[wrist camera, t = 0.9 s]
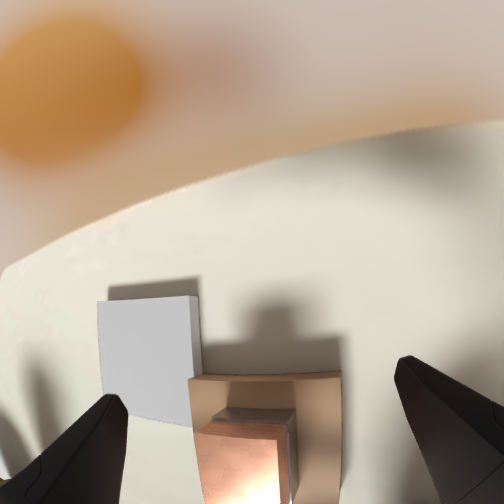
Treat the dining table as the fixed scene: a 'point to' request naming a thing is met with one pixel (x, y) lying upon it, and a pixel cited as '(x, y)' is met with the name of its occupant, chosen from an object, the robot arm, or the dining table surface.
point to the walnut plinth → (307, 417)
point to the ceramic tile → (151, 355)
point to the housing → (248, 456)
